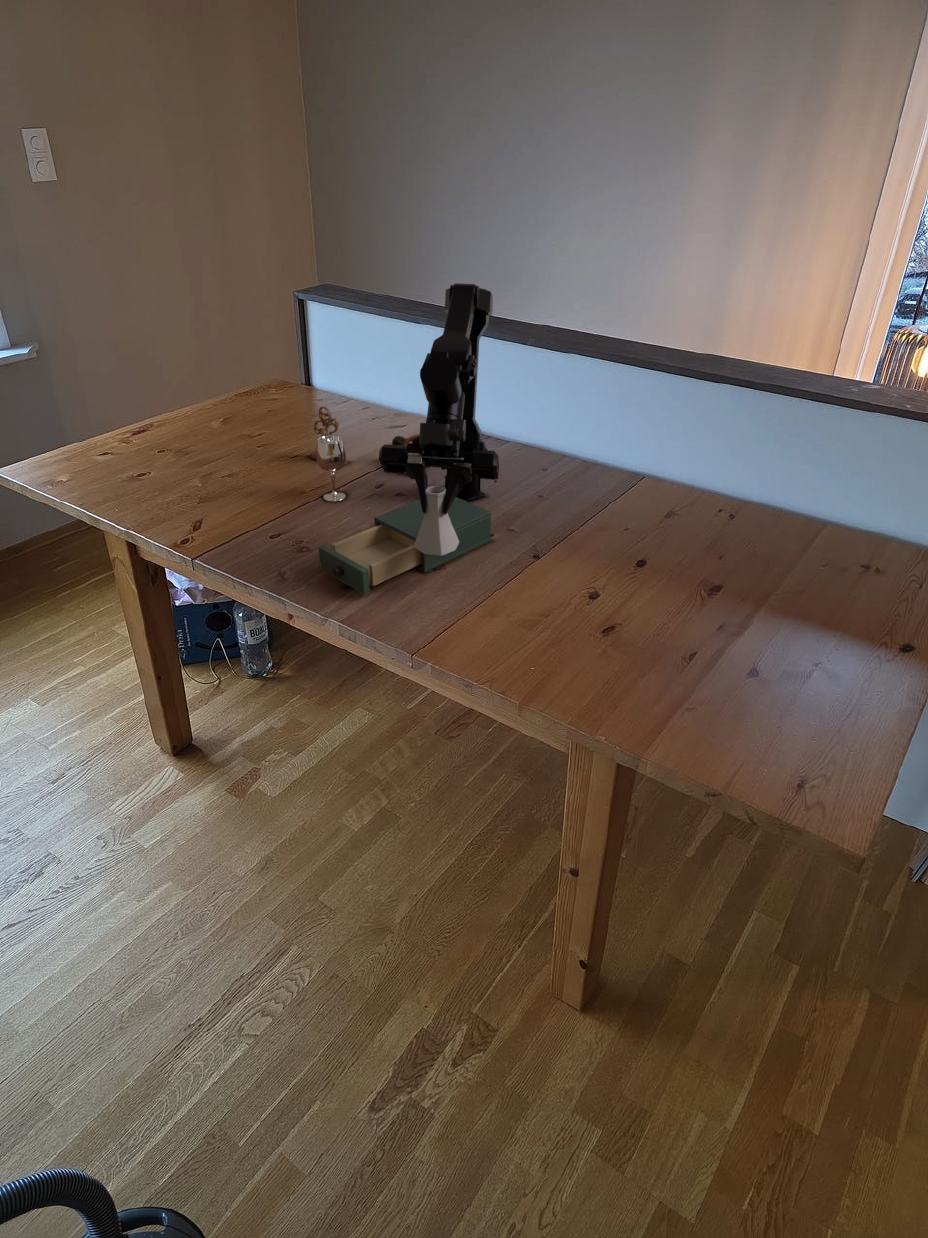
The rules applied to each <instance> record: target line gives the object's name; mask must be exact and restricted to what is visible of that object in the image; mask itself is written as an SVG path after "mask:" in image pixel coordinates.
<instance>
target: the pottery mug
mask: <svg viewBox="0 0 928 1238" xmlns="http://www.w3.org/2000/svg"><path fill="white" fill-rule="evenodd" d="M419 436H420V433H416V434H412V435H410V436H408V437H404V436H401V435H397V436H394V437H393V439H392V441H391V445H404V446H405V447H406V449H407V452H408V453H419V454H423V450H421V449H420V444H419ZM430 468H431V467H426V470H427V469H430Z"/></svg>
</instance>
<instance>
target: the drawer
mask: <svg viewBox="0 0 928 1238" xmlns="http://www.w3.org/2000/svg"><path fill="white" fill-rule="evenodd" d="M414 543H415V541H414V540H412V539H410V538H408V537H406V536H404V535H402V534H400V533H398V532H396V531H394V530H392V529H390V528H388V527H386V526H384V525H382V524H380V525H377V526H375V525H374V526H373V527H370V528H368V529H366V530H362V531H361V532H358V533H356V534H353V535H350V536H349V537H345V538H343V539H341V540H339V541H336V542H333V543H332V544H331V547H332V548H331V547H329V546H327V545H325V544H322V545H320V546H318V548H317V550H318V558H319V567H320V568H319V569H321V570H323V571H324V572H325V573H327V574H329V575H331V576H332V577H334V578H335V579H338V580H339V581H340V582H343V583H344V584H346V585H348V587H351V588H353V589H354V590H356V591H357V592H360V593H361V594H363V595H366V594H368V593H370V592H371V588H370V586H371V587H375V586H377V585H380V584H381V583H383V582H386V581H388V580H390V579H392V578H394V577H396V576H398V575H401V574H402V573H405V572H408V571H409V570H412V569H413V568H415V566H418V565H420V564H422V552H421V551H419V550H417V549H416V548H414V547H413V546H414Z"/></svg>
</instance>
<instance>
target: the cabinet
mask: <svg viewBox="0 0 928 1238" xmlns="http://www.w3.org/2000/svg"><path fill="white" fill-rule="evenodd" d="M445 495H446V493H445V494H444V497H445ZM447 513H448V516H449V518H450V521H451V523H452V526H453V528H454V530H455V533H456V535H457V537H458V540H459V544H458V546H457V548H456V550H455V551H452V552H450V553H447V554H445V555H442V556H439V555H431V554H424V553H422V564H420V565H418V566H415V567H414V568H415V569H416V570H419V571H421V572H423V573H426V572H429V571H431V570H433V569H435V568H438V567H439V566H441V565H444V564H446V563H448V562H450V561H452V560H454V559H456V558H458V557H461V556H462V555H464V554H467V553H469V552H471V551H473V550H476V549H477V548H479V547H482V546H483V545H485V544H488V543H490V542H491V529H492V512H491V511H489V510H487V509H486V508H483V507H480V506H478V505H476V504H474V503H471V502H470V501H468V502H467V501H464V500H462V499H460V498H457V497H455V499H454V501H453V503H452V505H451V507H450V508H449V510H448V512H447ZM424 516H425V513H423V511H422V507H421V502H420V498H419V499H417V500H414V501H412V502H409V503H407V504H404V505H402V506H399V507H397V508H395V509H392V510H389V511H387V512H384V513H381V514H380V515H377V516H374V519H373V520H374V527H375V526H377V525H380V524H382V525H384V526H386V527H388V528H390V529H392V530H394V531H396V532H398V533H400V534H402V535H404V536H406V537H408V538H410V539H412V540H414V541H416V538H417V535H418V533H419V530H420V527H421V524H422V521H423V518H424Z"/></svg>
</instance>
